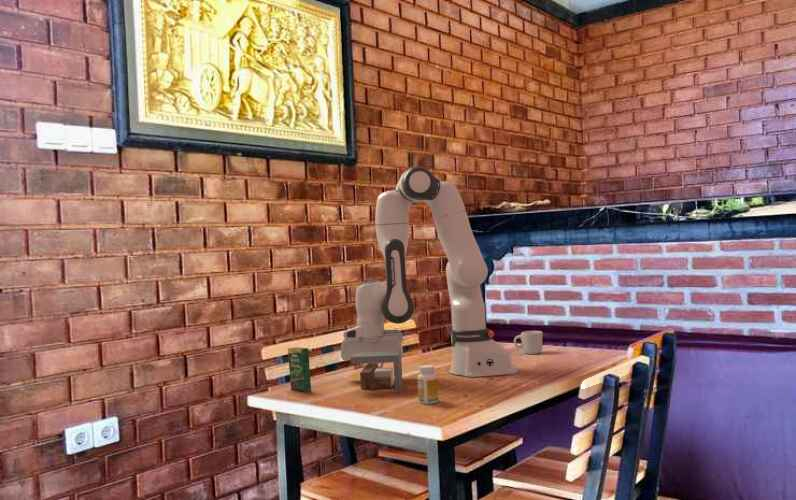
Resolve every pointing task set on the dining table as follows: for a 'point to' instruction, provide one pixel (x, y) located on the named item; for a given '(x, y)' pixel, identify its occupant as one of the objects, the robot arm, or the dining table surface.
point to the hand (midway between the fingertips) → (373, 372)
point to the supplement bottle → (427, 385)
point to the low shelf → (382, 358)
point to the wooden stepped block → (373, 378)
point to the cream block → (384, 373)
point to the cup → (530, 341)
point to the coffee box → (299, 369)
